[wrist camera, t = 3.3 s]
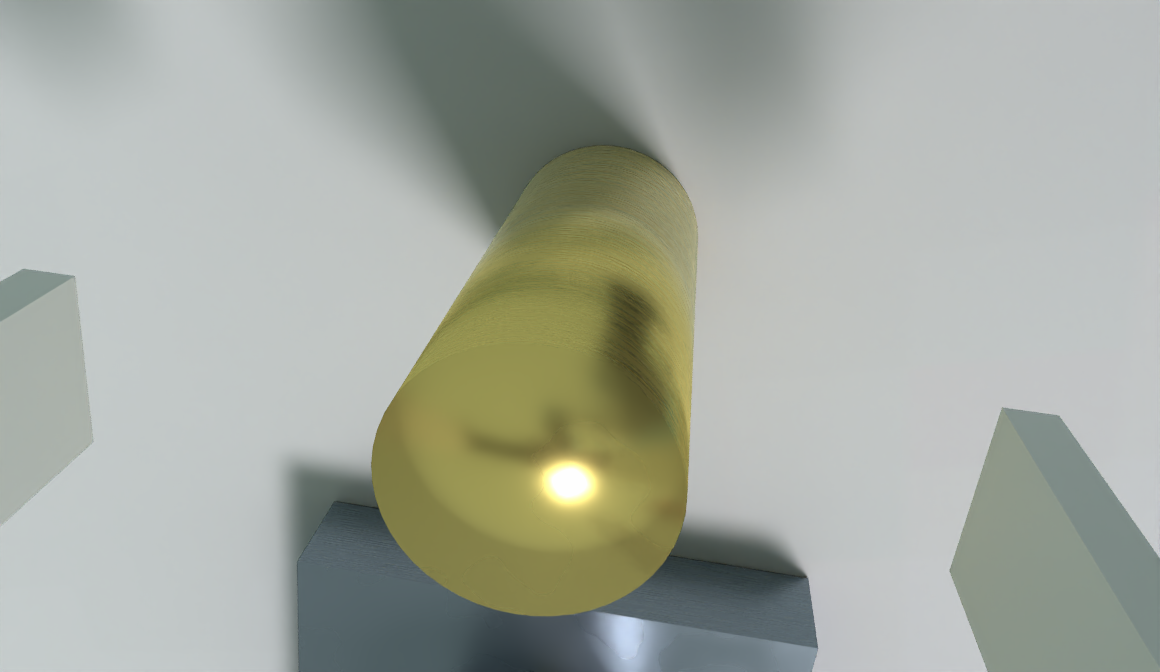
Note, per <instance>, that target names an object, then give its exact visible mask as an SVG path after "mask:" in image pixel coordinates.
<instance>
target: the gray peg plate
mask: <svg viewBox="0 0 1160 672" xmlns="http://www.w3.org/2000/svg"><path fill="white" fill-rule="evenodd" d="M297 578H298V639H299V672H812V669H813V665H814V662H815V658H816V654H817V650H818V645H817V638H816V631H815V623H814V616H813V609H812V602H811V595H810V588H809V580H808V578H803V577H797V576H791V575H785V574H779V573H772V572H766V571H760V570H754V569H748V568H742V567H735V566H729V565H723V564H717V563H711V562H705V561H698V560H692V559H686V558H680V557H674V556H668V557H667V559H666V560H665V562H664V563H663V564H662V565H661V566H660V567H659V569H658V570H657V571H656V572H655V573H654V574H653V575H652V576H651V577H650V578H649V579H648V580H647V581H645V582H644V583H643V584H642V585H641V586H640V587H638V588H637V589H635V590H634V591H632V592H631V593H629V594H627V595H626V596H624V597H622V598H620V599H618V600H616V601H614V602H612V603H610V604H608V605H605V606H602V607H599V608H596V609H593V610H590V611H586V612H581V613H576V614H571V615H561V616H528V615H519V614H512V613H508V612H503V611H499V610H494V609H491V608H488V607H485V606H482V605H479V604H476V603H474V602H472V601H470V600H468V599H465V598H463V597H461V596H459V595H457V594H455V593H454V592H452V591H450V590H448V589H447V588H445V587H443V586H442V585H440V584H439V583H438V582H436V581H435V580H433V579H432V578H431V577H429V576H428V575H427V574H426V573H424V572H423V571H422V570H421V569H420V568H419V567H418V566H417V565H416V564H415V563H414V562H413V561H412V560H411V559H410V558H409V557H408V556H407V555H406V553H405V552H404V551H403V550H402V549H401V548H400V546H399V545H398V543H397V542H396V540H395V539H394V537H393V536H392V534H391V533H390V531H389V529H388V527H387V525H386V523H385V521H384V519H383V517H382V515H381V512H380V510H379V509H377V508H371V507H365V506H359V505H353V504H347V503H340V502H334V503H333V505H332V506H331V508H330V510H329V511H328V513H327V514H326V516H325V518H324V519H323V521H322V523H321V524H320V526H319V527H318V529H317V531H316V532H315V534H314V535H313V537H312V539H311V540H310V542H309V544H308V545H307V547H306V548H305V550H304V552H303V553H302V555H301V556H300V558H299V560H298V561H297Z"/></svg>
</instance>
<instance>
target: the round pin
mask: <svg viewBox="0 0 1160 672" xmlns="http://www.w3.org/2000/svg"><path fill="white" fill-rule="evenodd" d="M697 248H698V229H697V222H696V216H695V213H694V210H693V207H692V204H691V202H690V199H689V197H688V195H687V193H686V192H685V190H684V189H683V187H682V186H681V184H680V183H679V181H678V180H677V179H676V178H675V177H674V176H673V175H672V174H671V173H670V172H669V171H668V170H667V169H666V168H665V167H664V166H662V165H661V164H660V163H658V162H657V161H655V160H654V159H652V158H650V157H648V156H646V155H644V154H642V153H640V152H637V151H634V150H631V149H628V148H623V147H618V146H608V145H599V146H588V147H583V148H578V149H576V150H573V151H570V152H567V153H565V154H563V155H561V156H559V157H557V158H555V159H554V160H552V161H551V162H549V163H548V164H546V165H545V166H544V167H543V168H542V169H541V170H540V171H539V172H537V174H536V175H535V176H534V177H533V178H532V180H531V181H530V182H529V184H528V185H527V187H526V188H525V190H524V192H523V193H522V195H521V196H520V198H519V200H518V201H517V203H516V204H515V206H514V208H513V209H512V211H511V212H510V214H509V215H508V217H507V219H506V220H505V222H504V223H503V225H502V227H501V228H500V230H499V231H498V233H497V235H496V236H495V238H494V239H493V241H492V243H491V244H490V246H489V247H488V249H487V251H486V252H485V254H484V255H483V257H482V258H481V260H480V262H479V263H478V265H477V266H476V268H475V270H474V271H473V273H472V274H471V276H470V278H469V279H468V281H467V282H466V284H465V286H464V287H463V289H462V290H461V292H460V294H459V295H458V297H457V298H456V300H455V301H454V303H453V305H452V306H451V308H450V309H449V311H448V313H447V314H446V316H445V317H444V319H443V321H442V322H441V324H440V325H439V327H438V329H437V330H436V332H435V333H434V335H433V336H432V338H431V340H430V341H429V343H428V344H427V346H426V348H425V349H424V351H423V352H422V354H421V356H420V357H419V359H418V360H417V362H416V364H415V365H414V367H413V368H412V370H411V372H410V373H409V375H408V376H407V378H406V379H405V381H404V383H403V384H402V386H401V387H400V389H399V391H398V392H397V394H396V395H395V397H394V399H393V400H392V402H391V403H390V405H389V407H388V408H387V410H386V411H385V413H384V415H383V417H382V420H381V422H380V424H379V427H378V429H377V433H376V437H375V440H374V444H373V451H372V462H371V468H372V483H373V488H374V493H375V498H376V501H377V504H378V507H379V510H380V512H381V515H382V517H383V519H384V521H385V523H386V525H387V527H388V529H389V531H390V533H391V534H392V536H393V537H394V539H395V540H396V542H397V543H398V545H399V546H400V548H401V549H402V550H403V551H404V552H405V553H406V555H407V556H408V557H409V558H410V559H411V560H412V561H413V562H414V563H415V564H416V565H417V566H418V567H419V568H420V569H421V570H422V571H423V572H424V573H426V574H427V575H428V576H429V577H431V578H432V579H433V580H435V581H436V582H438V583H439V584H440V585H442V586H443V587H445V588H447V589H448V590H450V591H452V592H454V593H455V594H457V595H459V596H461V597H463V598H465V599H468V600H470V601H472V602H474V603H476V604H479V605H482V606H485V607H488V608H491V609H494V610H499V611H503V612H508V613H512V614H519V615H528V616H561V615H571V614H576V613H581V612H586V611H590V610H593V609H596V608H599V607H602V606H605V605H608V604H610V603H612V602H614V601H616V600H618V599H620V598H622V597H624V596H626V595H627V594H629V593H631V592H632V591H634V590H635V589H637V588H638V587H640V586H641V585H642V584H643V583H644V582H645V581H647V580H648V579H649V578H650V577H651V576H652V575H653V574H654V573H655V572H656V571H657V570H658V569H659V567H660V566H661V565H662V564H663V563H664V562H665V560H666V559H667V557H668V555H669V554H670V552H671V551H672V549H673V548H674V546H675V543H676V541H677V539H678V536H679V534H680V532H681V529H682V525H683V521H684V517H685V513H686V503H687V490H688V466H689V442H690V417H691V393H692V369H693V345H694V320H695V296H696V272H697Z"/></svg>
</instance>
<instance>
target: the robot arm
mask: <svg viewBox="0 0 1160 672" xmlns="http://www.w3.org/2000/svg"><path fill="white" fill-rule="evenodd" d="M92 443H93V434H92V425H91V416H90V407H89V398H88V389H87V380H86V371H85V361H84V352H83V343H82V334H81V325H80V316H79V307H78V298H77V289H76V280H75V276H71V275H64V274H57V273H50V272H43V271H36V270H29V269H22V270H21V271H19V272H17V273H15V274H13V275H12V276H10V277H8V278H6V279H4V280H3V281H1V282H0V526H1V525H3V524H4V523H5V522H6V521H7V520H8V519H9V518H10V517H11V516H12V515H14V514H15V513H16V512H17V511H18V510H19V509H20V508H21V507H22V506H23V505H25V504H26V503H27V502H28V501H29V500H30V499H31V498H32V497H33V496H35V495H36V494H37V493H38V492H39V491H40V490H41V489H42V488H43V487H44V486H46V485H47V484H48V483H49V482H50V481H51V480H52V479H53V478H54V477H55V476H57V475H58V474H59V473H60V472H61V471H62V470H63V469H64V468H65V467H66V466H68V465H69V464H70V463H71V462H72V461H73V460H74V459H75V458H76V457H77V456H79V455H80V454H81V453H82V452H83V451H84V450H85V449H86V448H87V447H88V446H90V445H91V444H92ZM950 573H951V576H952V579H953V581H954V584H955V586H956V589H957V592H958V594H959V597H960V600H961V602H962V605H963V607H964V610H965V613H966V615H967V618H968V621H969V623H970V626H971V629H972V631H973V634H974V636H975V639H976V642H977V644H978V647H979V650H980V652H981V655H982V657H983V660H984V663H985V665H986V668H987V671H988V672H1160V558H1159V557H1158V555H1157V554H1156V552H1155V551H1154V550H1153V548H1152V547H1151V545H1150V544H1149V543H1148V541H1147V540H1146V538H1145V537H1144V535H1143V534H1142V533H1141V531H1140V530H1139V528H1138V527H1137V525H1136V524H1135V523H1134V521H1133V520H1132V518H1131V517H1130V516H1129V514H1128V513H1127V511H1126V510H1125V508H1124V507H1123V506H1122V504H1121V503H1120V501H1119V500H1118V499H1117V497H1116V496H1115V494H1114V493H1113V491H1112V490H1111V489H1110V487H1109V486H1108V484H1107V483H1106V482H1105V480H1104V479H1103V477H1102V476H1101V474H1100V473H1099V472H1098V470H1097V469H1096V467H1095V466H1094V464H1093V463H1092V462H1091V460H1090V459H1089V457H1088V456H1087V455H1086V453H1085V452H1084V450H1083V449H1082V447H1081V446H1080V445H1079V443H1078V442H1077V440H1076V439H1075V438H1074V436H1073V435H1072V433H1071V432H1070V430H1069V429H1068V428H1067V426H1066V425H1065V423H1064V422H1063V420H1062V419H1061V418H1060V416H1058V415H1051V414H1044V413H1037V412H1030V411H1023V410H1016V409H1009V408H1002V410H1001V413H1000V416H999V419H998V422H997V425H996V428H995V431H994V434H993V438H992V441H991V444H990V447H989V450H988V453H987V456H986V459H985V462H984V466H983V469H982V472H981V475H980V478H979V481H978V484H977V487H976V490H975V494H974V497H973V500H972V503H971V506H970V509H969V512H968V515H967V518H966V522H965V525H964V528H963V531H962V534H961V537H960V540H959V543H958V546H957V549H956V553H955V556H954V559H953V562H952V565H951V568H950Z"/></svg>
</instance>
